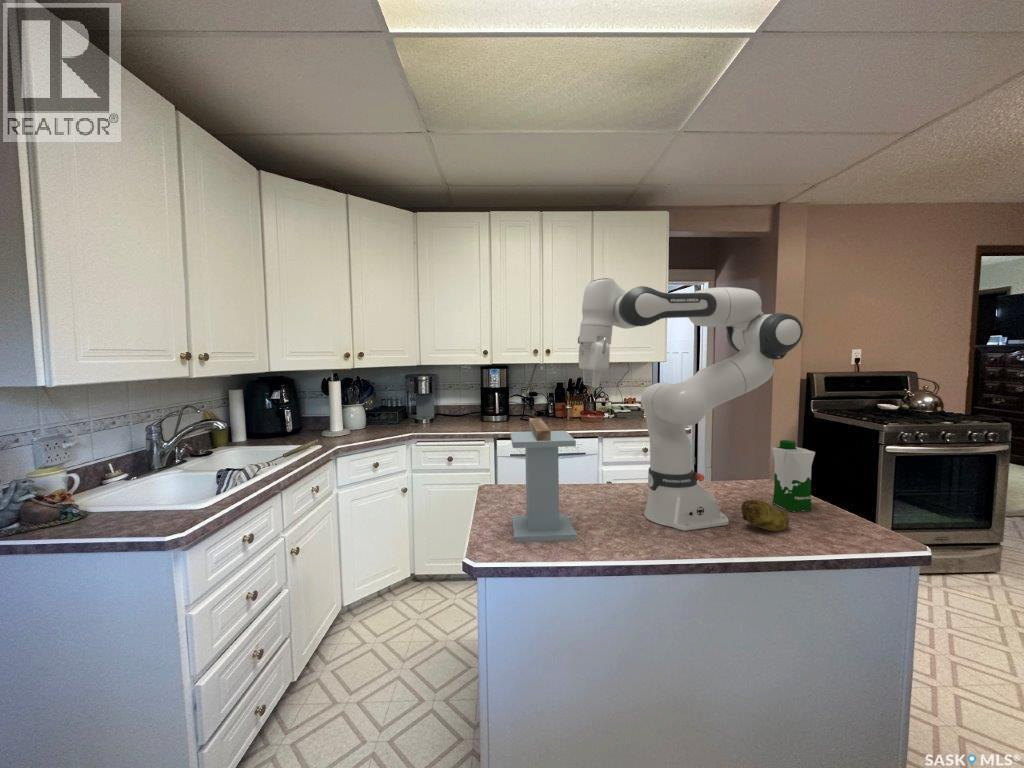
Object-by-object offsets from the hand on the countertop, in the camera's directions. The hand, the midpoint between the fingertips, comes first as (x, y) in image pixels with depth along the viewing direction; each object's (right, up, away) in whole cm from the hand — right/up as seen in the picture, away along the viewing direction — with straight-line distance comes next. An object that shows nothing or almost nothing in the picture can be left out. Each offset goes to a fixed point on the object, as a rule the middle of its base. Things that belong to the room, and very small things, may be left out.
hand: (590, 386), depth 113 cm
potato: (+46, -39, -5) cm, 61 cm away
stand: (-14, -39, -3) cm, 42 cm away
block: (-15, -13, 0) cm, 20 cm away
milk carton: (+64, -37, +10) cm, 74 cm away
